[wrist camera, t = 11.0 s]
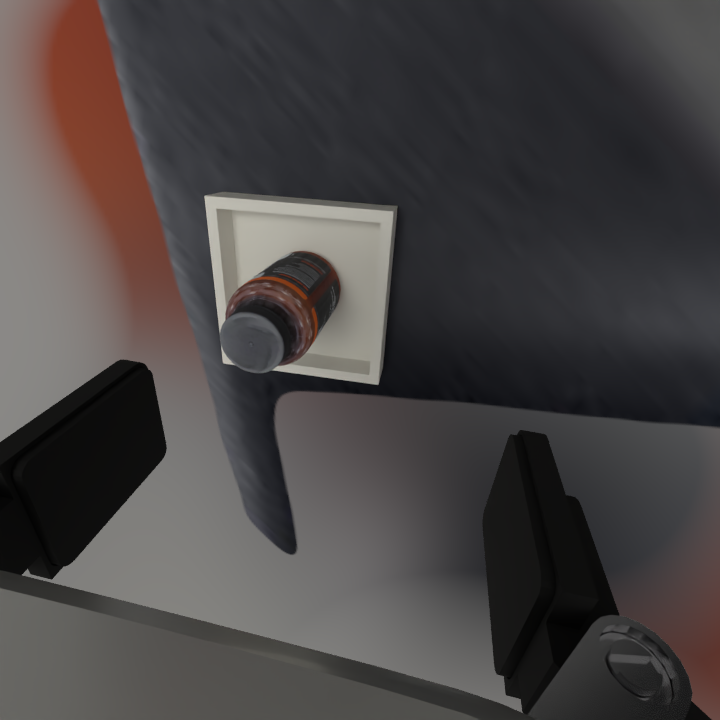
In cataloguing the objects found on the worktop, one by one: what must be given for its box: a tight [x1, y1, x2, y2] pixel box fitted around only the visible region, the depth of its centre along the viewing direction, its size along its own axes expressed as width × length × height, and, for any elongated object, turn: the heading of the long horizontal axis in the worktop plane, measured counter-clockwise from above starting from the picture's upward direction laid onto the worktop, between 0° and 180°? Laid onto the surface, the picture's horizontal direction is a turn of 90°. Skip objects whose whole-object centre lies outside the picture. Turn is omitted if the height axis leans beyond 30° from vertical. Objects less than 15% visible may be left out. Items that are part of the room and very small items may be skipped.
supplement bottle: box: [220, 251, 341, 373], centre depth 29 cm, size 6×6×11 cm
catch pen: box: [205, 192, 398, 385], centre depth 33 cm, size 14×14×3 cm
